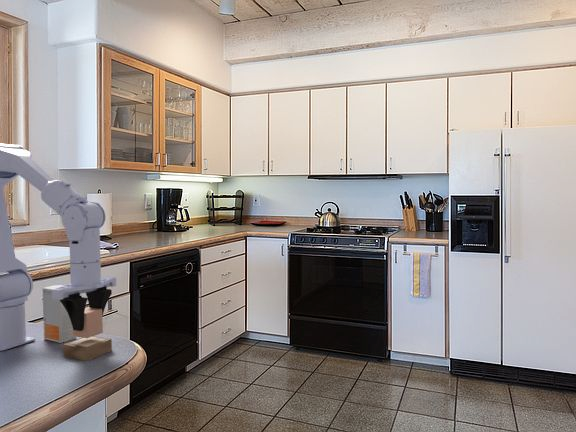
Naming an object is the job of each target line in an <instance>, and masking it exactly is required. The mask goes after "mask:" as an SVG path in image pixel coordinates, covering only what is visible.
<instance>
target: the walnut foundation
mask: <svg viewBox="0 0 576 432" xmlns="http://www.w3.org/2000/svg"><path fill="white" fill-rule="evenodd" d="M112 343H113V342H112V338H110V337H109V338H107V337H102V336H97V335H95V336H93V337H90V338H82V337H79V338H76V339H73V340H70V341H67V342H65V343H62V352H63V355H62V356H63V357H64V358H69V359H74V360H75V359H76V360H78V361H79V360H80V361H86V362H88V361H91V360H92V359H95V358H97V357H100V356H102V355H104V354H107V353H109V352H112V351H113V347H112V345H113V344H112ZM90 359H91V360H90Z"/></svg>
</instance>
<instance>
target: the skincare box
mask: <svg viewBox="0 0 576 432" xmlns="http://www.w3.org/2000/svg"><path fill="white" fill-rule="evenodd" d="M62 286H64V285H62V284H56V285H50V286H45V287H42V309H43V310H42V313H43V315H42V317H43V339H44V340H48V341H51V342H55V343H59V344H64V343H67V342H70V341H73V340H76V339H77V337H76V336H73V327H72V323H71V320H70V317H69V315H68V313H67V311H66V309H65V307H64V306H63V304H62V303H61V302H60V300H55V299H52V289H56V288H59V287H62ZM75 338H76V339H75ZM72 339H73V340H72ZM69 340H70V341H69ZM63 342H64V343H63Z"/></svg>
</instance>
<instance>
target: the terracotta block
mask: <svg viewBox="0 0 576 432" xmlns="http://www.w3.org/2000/svg"><path fill="white" fill-rule="evenodd" d="M103 324H104V323H103V317H102V309H97V308H89V306H88V307H85V312H84V328H83V330H82V331H76V330H73V336H76V338H90V337H93V336H97V335H98V336H99V335H100V334H103V333H104V330H103V327H104V326H103Z"/></svg>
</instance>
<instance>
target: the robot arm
mask: <svg viewBox="0 0 576 432" xmlns="http://www.w3.org/2000/svg"><path fill="white" fill-rule="evenodd" d="M18 176H19V177H20V178H23V180H25V181H26V182H27V183H29V184H30V185H32V187H34V188H35V189H36V190H37V191H39V192H41V193H40V198H41V200H42V201H43V202H44V204H46V205H47V206H48V207H49V208H51V209H52V210H53V211H54V212H55V213H56V214H57V215H59V217H60V218H61V222H62V226H63V228H64V229H65V231H66V237H67V239H68V242H69V266H70V267H69V268H70V269H69V271H70V272H69V273H70V283H68V284H64V285H63V286H62V287H59V288H56V289H52V299H55V300H60V302H61V303H62V304H63V306H64V307H65V309H66V311H67V313H68V315H69V317H70V320H71V323H72V327H73V330H76V331H82V330H83V328H84V312H85V308H86V305H87V301H88V307H89V308H97V309H102V318H103V316H104V312H105V309H106V306H107V303H108V301H109V299H110V297H111V295H112V293H113V292H112V291H113V290H112V289H111V288H109V287H112V288H113V287H116V286H117V277H116V276H115V277H114V276H107V277H102V271H101V269H102V268H101V267H102V266H101V265H102V264H101V263H102V262H101V231H100V229H101V228H103V226H104V224H105V223H106V212H105V210H104V207H102V206H101V204H100V203H99V202H97V201H88V200H87V199H86V196H84V195H81V194H80V193H78V192H77V191H76V190H75V189H74V188H73V187H71V185H72V184H71V183H70V182H69V181H68V180H61V179H55V180H54V178H52V177H51V175H50V174H49V173H47V172H46V171H45V170H44V169H43V168H42V167H41V166H40V165H39V164H38V163H37V161H36V160H34V159H33V158H32V152H31V151H29V150H26V148H25V147H24V146H22V145H20V144H9V143H8V144H7V143H0V273H4V274H0V352H2V351H3V352H4V351H6V350H8V349H12V348H15V347H19V346H21V345H25V344H28V343H31V342H34V341H36V338H35V337H32V336H27V329H26V303H25V302H27V301H29V300H28V297H29V296H31V293H32V292H33V290H34V283H33V279H32V276H31V275H30V273H29V272H28V268H27V264H26V263H24V262H23V261H21V260H20V259H18V258H17V257H16V254H15V247H14V244H13V243H14V242H13V238H12V237H13V236H12V231H11V227H10V221H9V216H8V211H7V205H6V199H5V198H6V197H5V193H4V189H5V187H6V185H7V184H10V183H12V181H14V180H15V179H16V178H17V177H18ZM108 288H109V289H108ZM81 294H85V295H86V297H83V296H82V295H81Z"/></svg>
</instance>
